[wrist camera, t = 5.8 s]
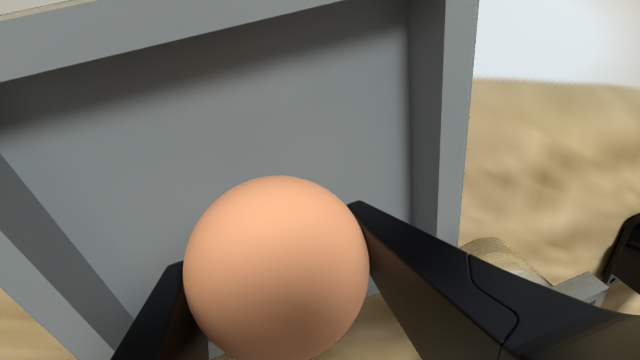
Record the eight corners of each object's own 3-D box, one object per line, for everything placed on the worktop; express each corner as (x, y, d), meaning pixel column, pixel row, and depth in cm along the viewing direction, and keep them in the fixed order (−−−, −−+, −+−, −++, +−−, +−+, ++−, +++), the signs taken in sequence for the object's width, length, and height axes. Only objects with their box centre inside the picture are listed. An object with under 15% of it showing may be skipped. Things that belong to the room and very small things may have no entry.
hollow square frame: (520, 218, 19) (609, 287, 15) (505, 286, 23) (575, 358, 19) (424, 255, 18) (492, 339, 14) (423, 320, 22) (478, 404, 18)
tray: (427, -75, 10) (486, -83, 8) (424, 226, 17) (456, 263, 15) (-127, 41, 8) (-234, 71, 6) (127, 336, 15) (117, 396, 13)
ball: (321, 125, 10) (401, 224, 6) (341, 240, 12) (406, 358, 8) (156, 174, 9) (135, 321, 5) (213, 286, 11) (227, 436, 8)
